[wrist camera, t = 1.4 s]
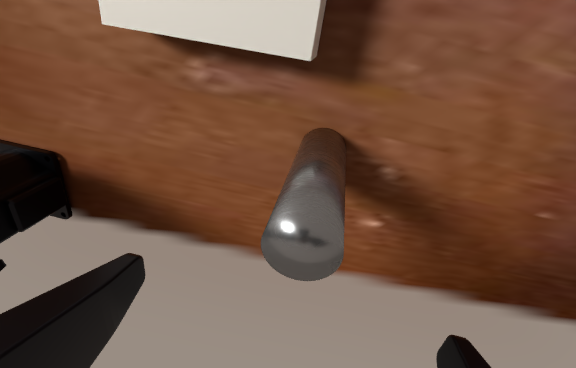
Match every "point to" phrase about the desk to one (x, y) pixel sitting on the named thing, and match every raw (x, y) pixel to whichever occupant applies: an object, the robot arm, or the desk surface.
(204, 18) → the hole block
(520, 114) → the desk surface
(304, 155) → the metal peg
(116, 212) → the desk surface
